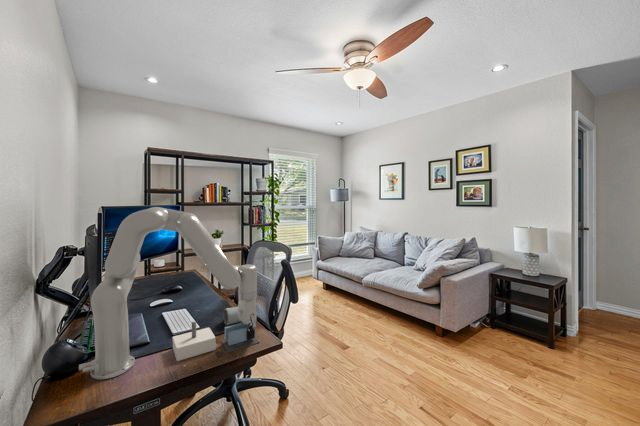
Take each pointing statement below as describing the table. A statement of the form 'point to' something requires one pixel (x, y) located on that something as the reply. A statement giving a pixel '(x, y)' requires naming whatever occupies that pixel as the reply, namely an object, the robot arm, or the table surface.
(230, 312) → the white cylinder
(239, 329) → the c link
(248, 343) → the coaster
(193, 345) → the stand
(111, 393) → the table surface
